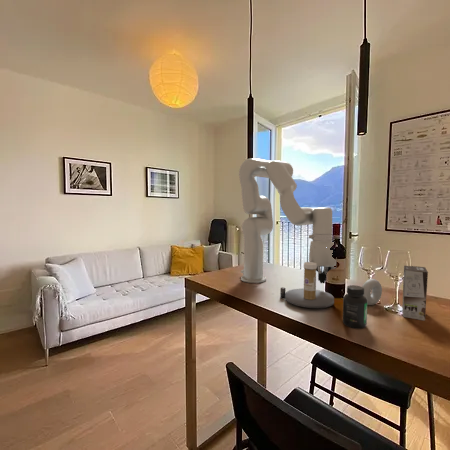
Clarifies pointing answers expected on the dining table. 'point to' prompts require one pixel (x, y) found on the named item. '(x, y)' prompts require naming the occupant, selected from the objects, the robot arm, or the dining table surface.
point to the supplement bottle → (355, 307)
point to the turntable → (320, 301)
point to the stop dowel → (282, 293)
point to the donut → (376, 291)
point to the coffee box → (414, 292)
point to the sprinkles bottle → (310, 280)
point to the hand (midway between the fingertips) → (322, 282)
